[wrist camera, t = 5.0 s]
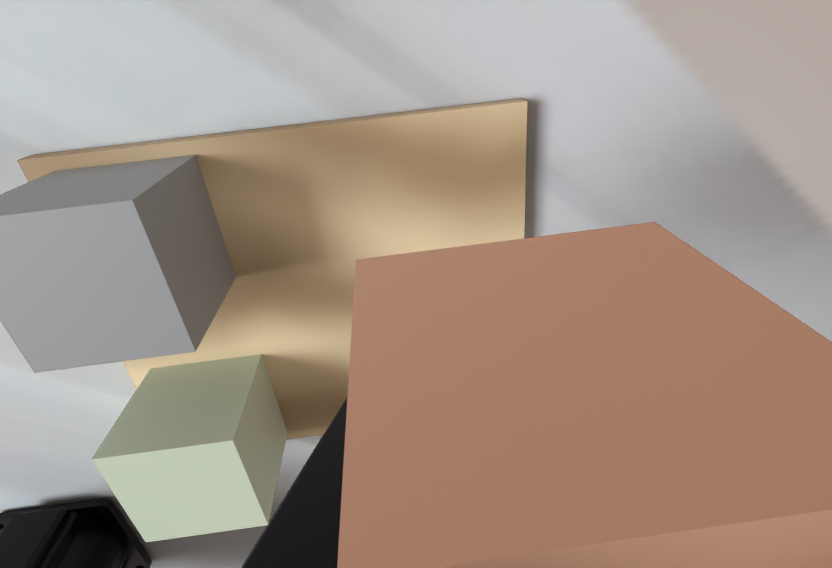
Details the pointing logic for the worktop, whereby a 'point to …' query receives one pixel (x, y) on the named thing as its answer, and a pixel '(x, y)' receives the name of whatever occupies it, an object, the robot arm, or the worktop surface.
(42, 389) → the worktop surface
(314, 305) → the oak board
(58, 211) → the grey block
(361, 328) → the terracotta block
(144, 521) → the sage block
